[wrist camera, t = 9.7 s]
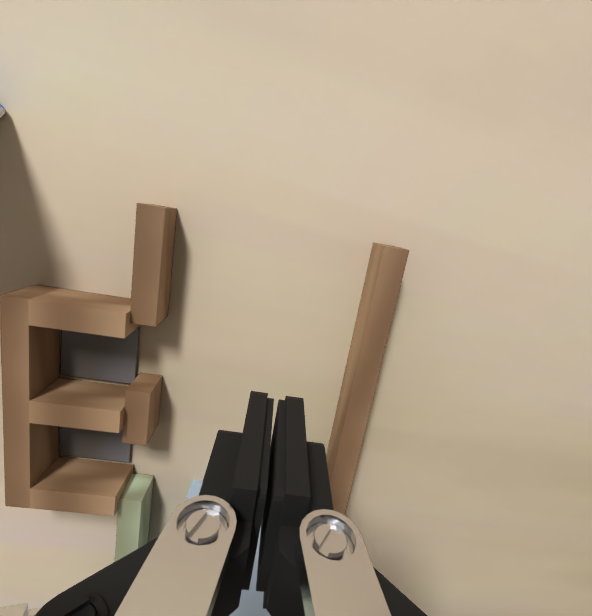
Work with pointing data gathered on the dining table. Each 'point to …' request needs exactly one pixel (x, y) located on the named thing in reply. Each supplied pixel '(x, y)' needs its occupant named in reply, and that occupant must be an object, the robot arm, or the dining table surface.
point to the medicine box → (2, 111)
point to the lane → (138, 385)
